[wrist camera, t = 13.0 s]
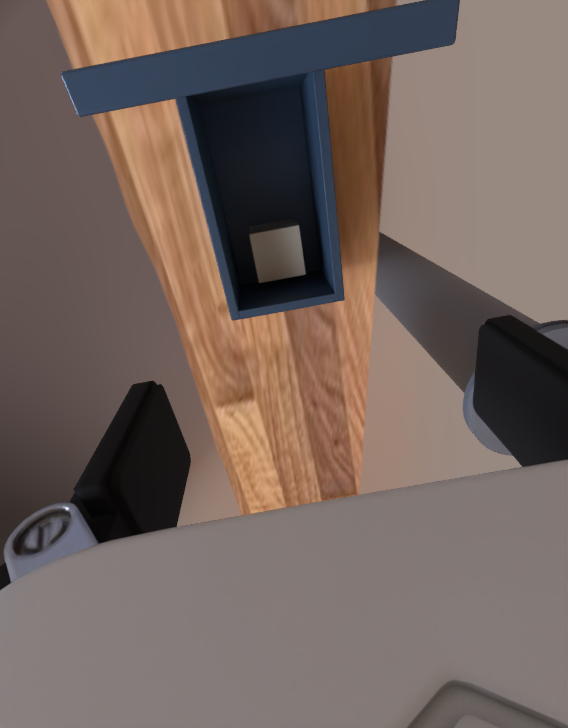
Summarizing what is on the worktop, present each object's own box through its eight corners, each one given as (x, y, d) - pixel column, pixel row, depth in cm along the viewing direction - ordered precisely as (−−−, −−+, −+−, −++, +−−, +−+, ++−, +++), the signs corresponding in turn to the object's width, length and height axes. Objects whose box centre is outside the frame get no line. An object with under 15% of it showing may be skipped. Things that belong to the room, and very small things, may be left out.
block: (294, 217, 32) (299, 224, 29) (300, 262, 34) (306, 274, 31) (249, 226, 32) (248, 234, 29) (258, 270, 34) (258, 283, 31)
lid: (456, 44, 9) (462, -8, 8) (77, 117, 9) (58, 72, 8) (324, 56, 21) (323, 37, 21) (170, 86, 21) (165, 68, 21)
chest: (327, 273, 36) (344, 300, 29) (235, 290, 36) (231, 321, 29) (305, 75, 28) (322, 49, 21) (189, 98, 28) (170, 79, 21)
